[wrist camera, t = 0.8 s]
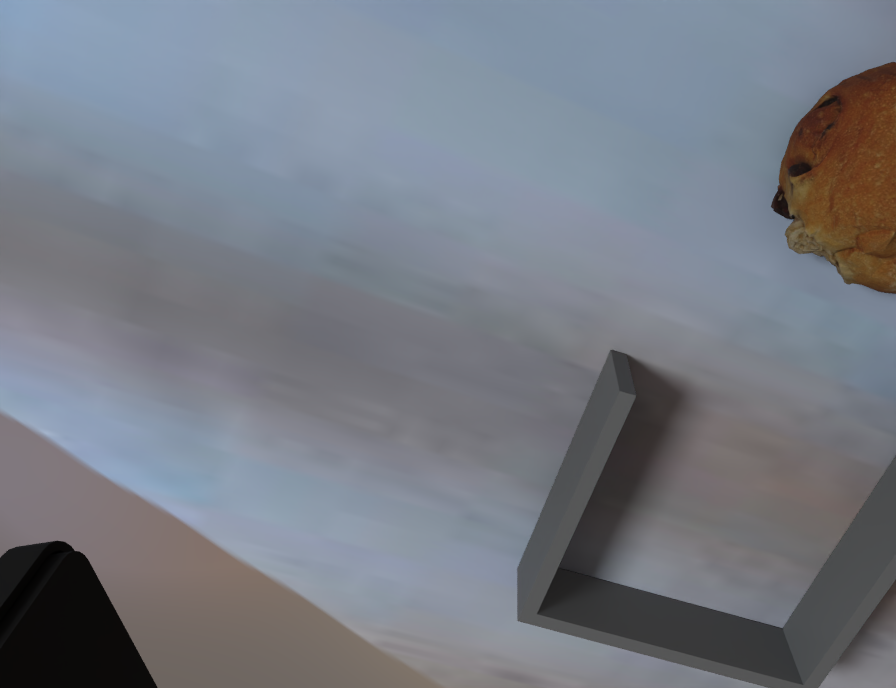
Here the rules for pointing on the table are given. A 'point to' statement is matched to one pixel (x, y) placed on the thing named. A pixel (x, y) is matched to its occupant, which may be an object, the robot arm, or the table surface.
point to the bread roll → (846, 180)
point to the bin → (686, 625)
